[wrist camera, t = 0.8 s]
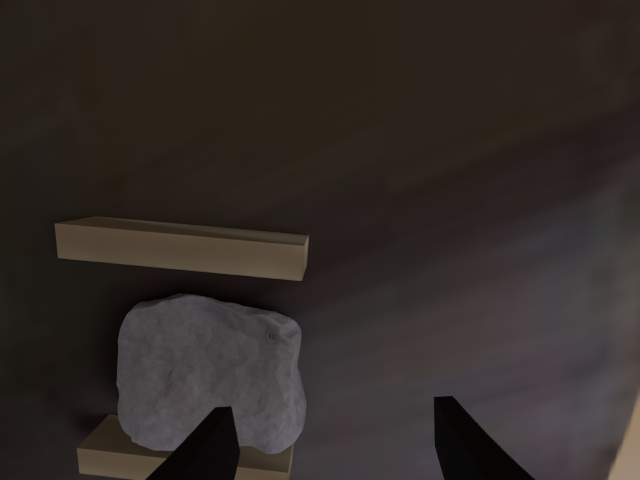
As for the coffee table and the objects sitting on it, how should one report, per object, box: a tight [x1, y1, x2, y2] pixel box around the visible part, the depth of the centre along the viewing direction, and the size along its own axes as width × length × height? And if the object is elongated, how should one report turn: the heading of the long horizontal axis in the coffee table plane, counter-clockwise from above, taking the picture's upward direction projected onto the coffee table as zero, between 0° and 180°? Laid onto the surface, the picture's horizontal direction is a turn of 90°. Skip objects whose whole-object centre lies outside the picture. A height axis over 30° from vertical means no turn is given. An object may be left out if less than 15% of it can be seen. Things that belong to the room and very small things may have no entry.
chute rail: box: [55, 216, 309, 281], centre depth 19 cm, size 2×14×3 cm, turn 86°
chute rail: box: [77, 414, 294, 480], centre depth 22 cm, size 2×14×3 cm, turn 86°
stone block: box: [116, 293, 307, 454], centre depth 21 cm, size 12×5×10 cm
